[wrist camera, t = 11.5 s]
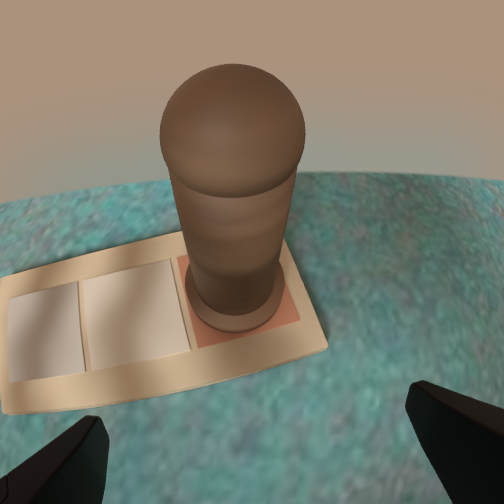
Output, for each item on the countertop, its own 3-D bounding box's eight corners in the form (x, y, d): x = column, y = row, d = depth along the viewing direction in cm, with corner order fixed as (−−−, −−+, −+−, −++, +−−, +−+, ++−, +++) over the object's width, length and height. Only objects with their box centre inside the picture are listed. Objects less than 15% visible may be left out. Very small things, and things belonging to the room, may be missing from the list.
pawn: (301, 288, 19) (369, 82, 8) (234, 353, 17) (225, 162, 6) (236, 233, 21) (236, 29, 10) (169, 287, 19) (98, 81, 8)
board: (271, 219, 23) (272, 210, 22) (324, 350, 18) (329, 345, 18) (7, 284, 19) (0, 277, 18) (11, 415, 14) (1, 413, 13)
